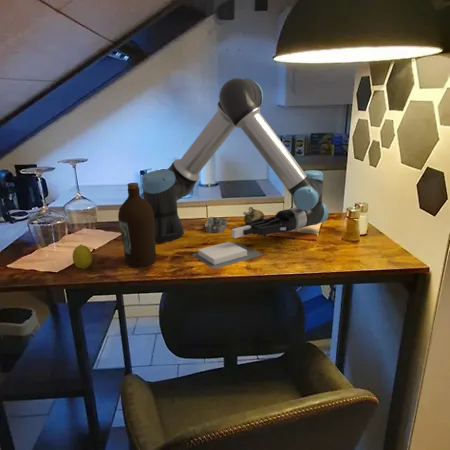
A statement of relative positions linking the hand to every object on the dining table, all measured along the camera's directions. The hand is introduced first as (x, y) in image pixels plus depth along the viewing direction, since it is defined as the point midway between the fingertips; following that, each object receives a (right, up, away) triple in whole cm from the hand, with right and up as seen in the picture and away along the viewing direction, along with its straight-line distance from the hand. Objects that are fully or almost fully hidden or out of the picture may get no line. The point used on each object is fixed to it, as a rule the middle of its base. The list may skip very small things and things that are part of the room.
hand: (233, 233), depth 128 cm
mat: (-2, -7, +1) cm, 8 cm away
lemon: (-45, -11, -5) cm, 47 cm away
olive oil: (-29, -9, -1) cm, 30 cm away
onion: (+9, +2, +29) cm, 30 cm away
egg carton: (-6, +1, +28) cm, 29 cm away
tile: (+2, -5, +3) cm, 6 cm away
